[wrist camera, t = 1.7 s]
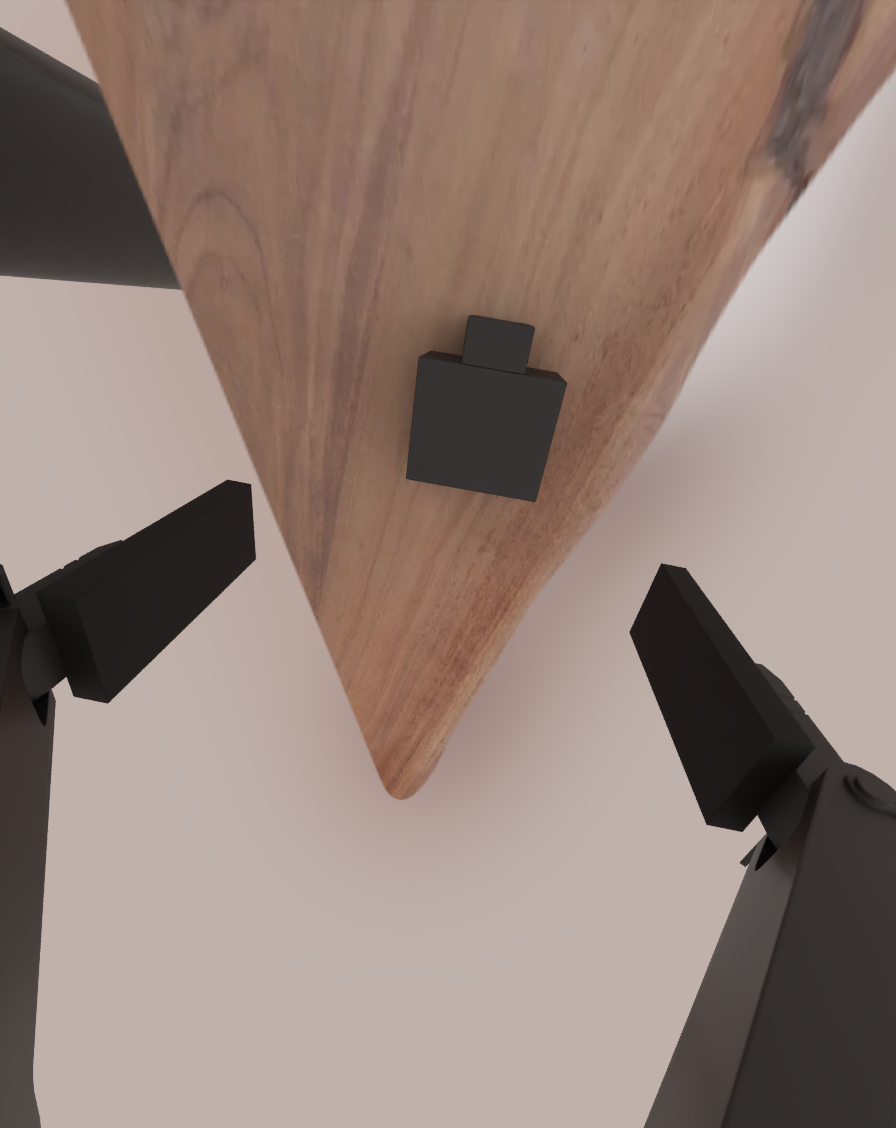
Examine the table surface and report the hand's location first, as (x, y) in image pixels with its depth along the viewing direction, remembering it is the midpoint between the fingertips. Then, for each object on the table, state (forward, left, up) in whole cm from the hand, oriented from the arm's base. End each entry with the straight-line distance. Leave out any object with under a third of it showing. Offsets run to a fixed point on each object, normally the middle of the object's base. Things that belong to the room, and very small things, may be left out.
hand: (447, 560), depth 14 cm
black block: (0, +2, -14) cm, 14 cm away
